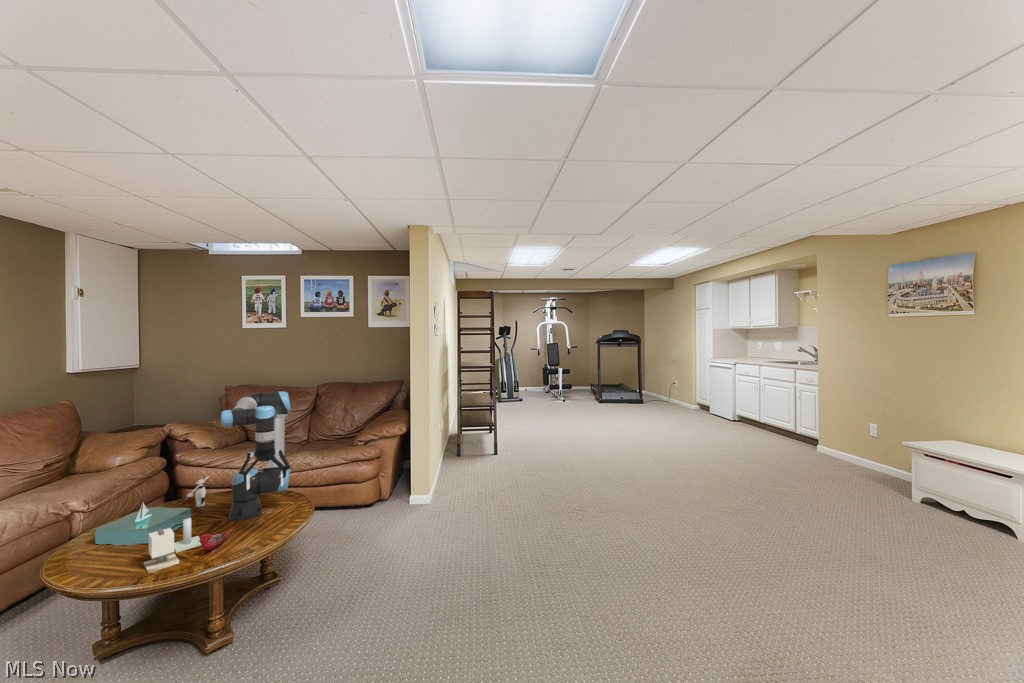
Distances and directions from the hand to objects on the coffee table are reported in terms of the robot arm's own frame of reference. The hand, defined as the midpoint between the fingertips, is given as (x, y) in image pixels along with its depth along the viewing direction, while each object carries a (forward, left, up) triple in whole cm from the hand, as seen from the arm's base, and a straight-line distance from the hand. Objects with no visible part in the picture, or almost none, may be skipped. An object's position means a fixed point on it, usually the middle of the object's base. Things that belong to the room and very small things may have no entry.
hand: (265, 487), depth 193 cm
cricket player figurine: (-78, -9, -26) cm, 83 cm away
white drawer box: (-14, -35, -21) cm, 43 cm away
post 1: (-14, -35, -26) cm, 46 cm away
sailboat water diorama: (-59, -34, -27) cm, 73 cm away
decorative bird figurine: (-10, -16, -26) cm, 33 cm away
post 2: (-26, -24, -26) cm, 44 cm away
